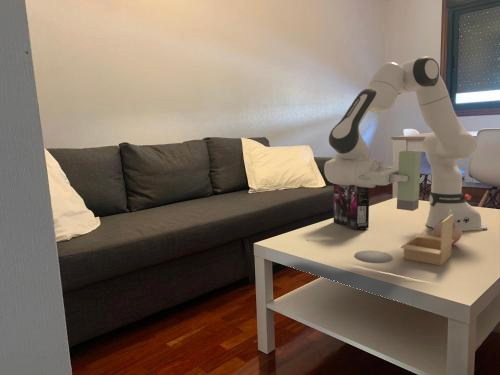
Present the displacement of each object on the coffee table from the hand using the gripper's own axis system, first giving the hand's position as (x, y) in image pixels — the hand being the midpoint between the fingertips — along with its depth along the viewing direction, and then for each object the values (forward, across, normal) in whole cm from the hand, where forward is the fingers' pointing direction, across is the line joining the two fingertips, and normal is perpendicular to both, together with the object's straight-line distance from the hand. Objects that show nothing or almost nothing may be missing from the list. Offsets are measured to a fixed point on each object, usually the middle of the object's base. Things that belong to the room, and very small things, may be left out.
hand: (411, 177), depth 123 cm
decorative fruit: (+6, +21, +26) cm, 34 cm away
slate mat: (-9, -6, +27) cm, 29 cm away
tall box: (-1, 0, +10) cm, 10 cm away
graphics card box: (-34, +28, +27) cm, 52 cm away
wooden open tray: (+5, +4, +26) cm, 27 cm away
